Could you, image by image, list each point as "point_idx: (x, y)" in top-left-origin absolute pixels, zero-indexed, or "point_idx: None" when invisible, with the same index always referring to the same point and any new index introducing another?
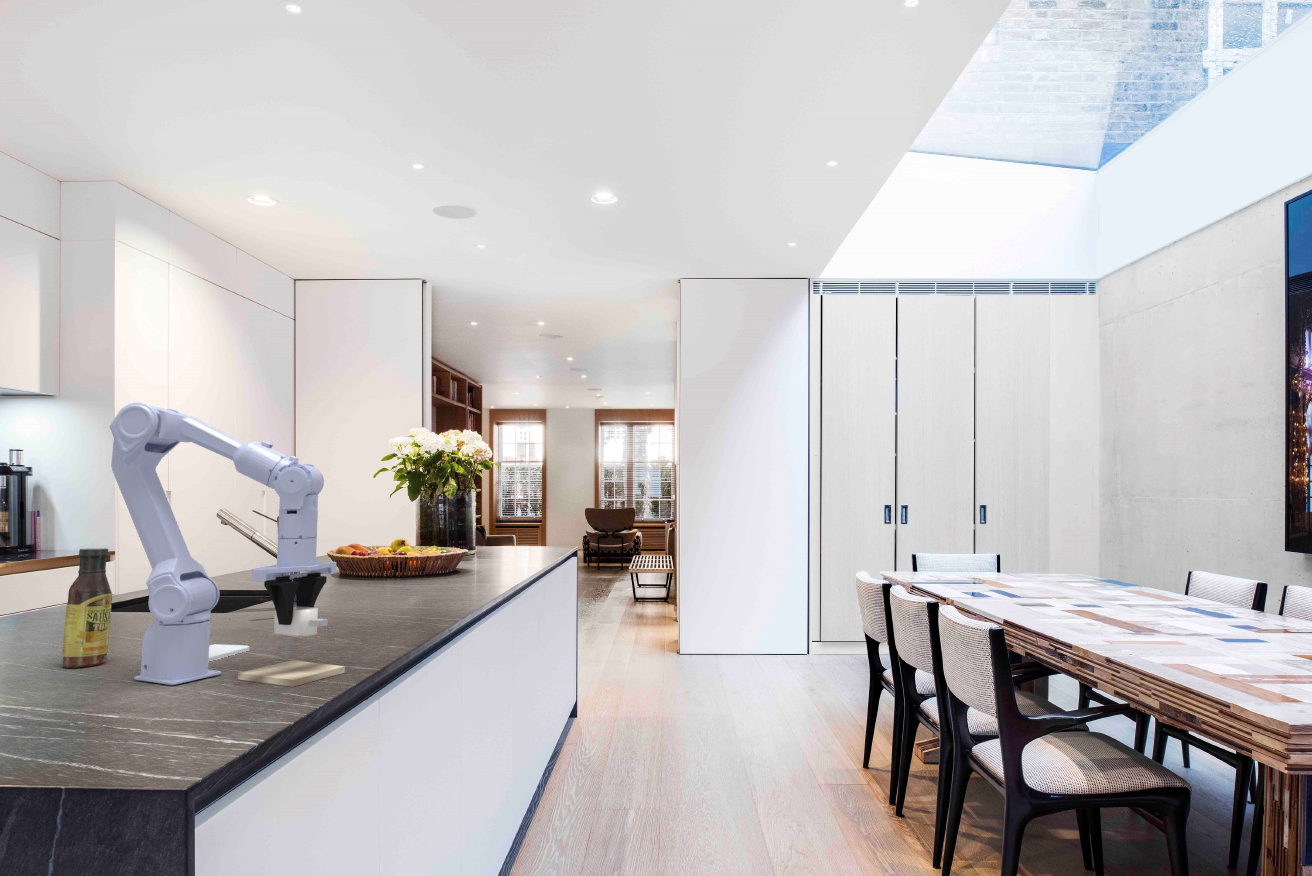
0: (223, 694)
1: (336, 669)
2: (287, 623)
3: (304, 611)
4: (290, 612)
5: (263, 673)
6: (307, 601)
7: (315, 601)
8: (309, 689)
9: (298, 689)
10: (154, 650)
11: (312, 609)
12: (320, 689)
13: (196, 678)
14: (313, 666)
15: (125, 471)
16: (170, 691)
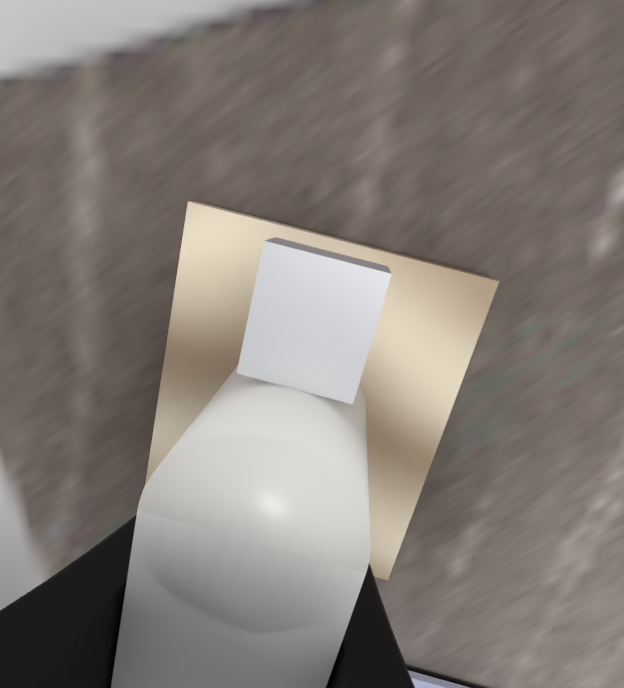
0: (621, 478)
1: (242, 216)
2: (371, 572)
3: (366, 507)
4: (380, 638)
5: (387, 484)
6: (70, 683)
7: (7, 610)
8: (530, 168)
9: (531, 223)
10: None
11: (282, 462)
12: (528, 109)
13: (429, 679)
14: (226, 355)
15: None
16: (572, 665)
